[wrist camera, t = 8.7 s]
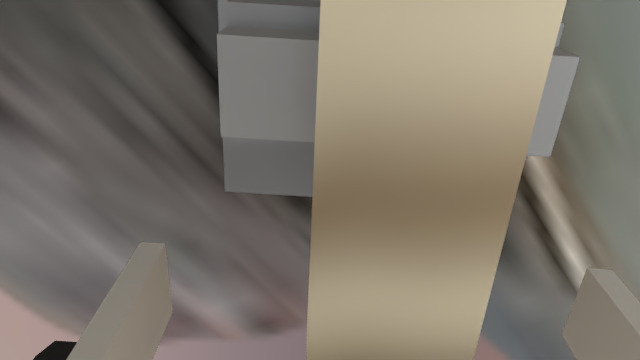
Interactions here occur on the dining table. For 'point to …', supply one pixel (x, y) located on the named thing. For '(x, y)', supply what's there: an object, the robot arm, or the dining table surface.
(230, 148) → the fulcrum
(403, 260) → the bar
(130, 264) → the robot arm
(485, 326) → the dining table surface
